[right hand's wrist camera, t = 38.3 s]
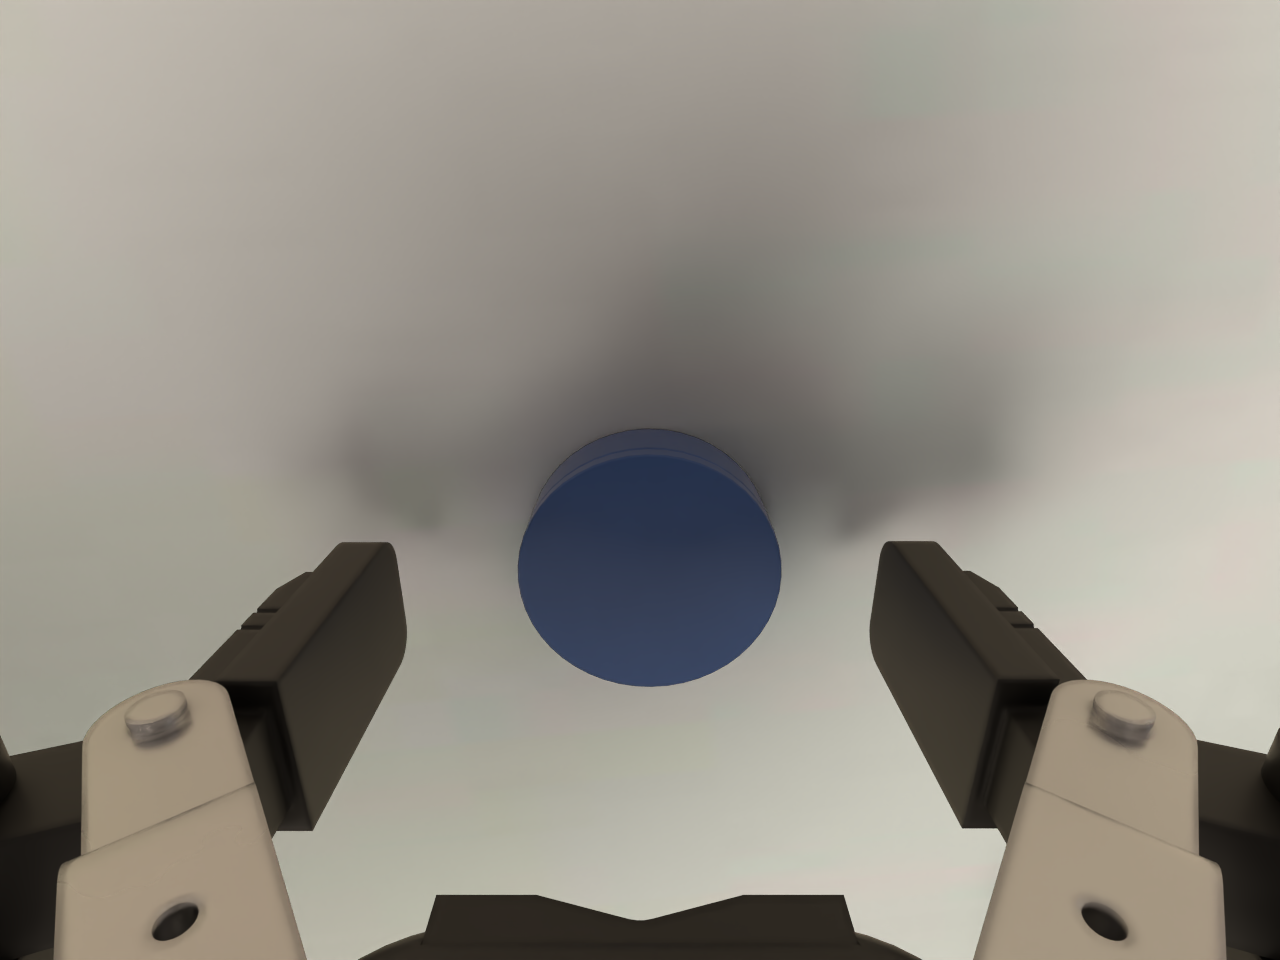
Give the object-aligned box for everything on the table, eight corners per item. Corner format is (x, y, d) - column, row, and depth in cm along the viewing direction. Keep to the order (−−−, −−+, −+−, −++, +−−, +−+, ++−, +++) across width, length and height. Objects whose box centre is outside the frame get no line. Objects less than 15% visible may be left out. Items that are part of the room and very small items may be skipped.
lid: (737, 398, 13) (749, 422, 11) (789, 610, 14) (805, 655, 13) (496, 465, 13) (477, 496, 12) (573, 662, 15) (566, 711, 14)
